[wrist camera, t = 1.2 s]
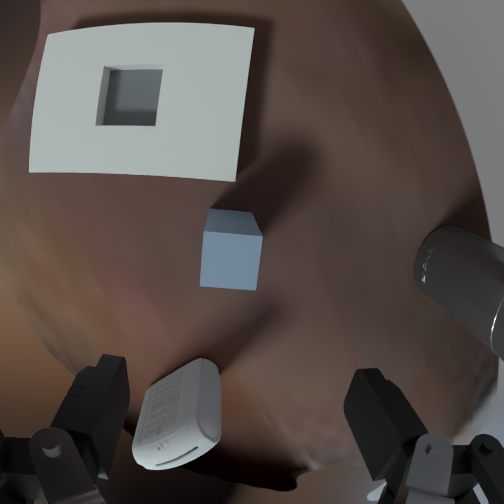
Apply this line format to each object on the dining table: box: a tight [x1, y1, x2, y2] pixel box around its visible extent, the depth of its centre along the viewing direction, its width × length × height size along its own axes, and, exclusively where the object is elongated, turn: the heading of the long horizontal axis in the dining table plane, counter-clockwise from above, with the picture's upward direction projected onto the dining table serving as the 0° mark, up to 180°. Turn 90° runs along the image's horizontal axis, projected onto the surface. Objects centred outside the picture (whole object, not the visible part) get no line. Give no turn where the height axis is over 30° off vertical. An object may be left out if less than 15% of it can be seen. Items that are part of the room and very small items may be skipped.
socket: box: [29, 23, 255, 182], centre depth 25 cm, size 20×14×3 cm
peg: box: [200, 209, 263, 290], centre depth 27 cm, size 4×4×9 cm
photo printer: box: [132, 358, 221, 470], centre depth 30 cm, size 10×4×12 cm, turn 126°
